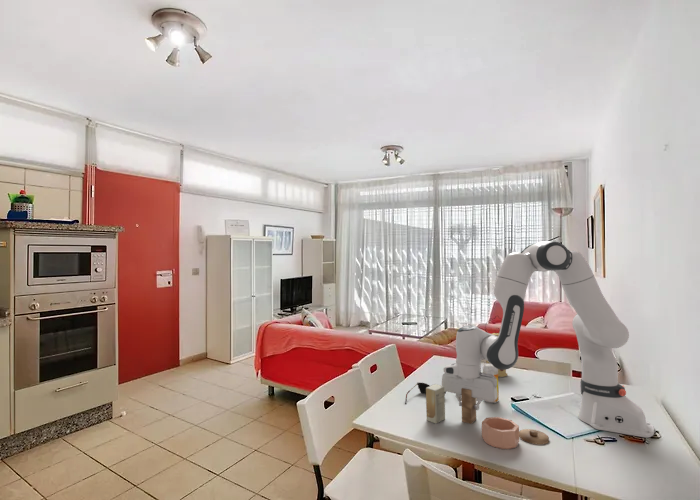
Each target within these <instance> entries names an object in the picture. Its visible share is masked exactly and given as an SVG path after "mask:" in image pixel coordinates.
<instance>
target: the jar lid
mask: <svg viewBox="0 0 700 500" xmlns="http://www.w3.org/2000/svg"><path fill="white" fill-rule="evenodd" d="M549 438H550V437H549V435H548V434H546V433H544V432H543V431H540V430H537V429H532V428H530V429H529V428H525V429H523V428H522V429H521V430H520V429H519V439H520V440H522V441H524V442H526V443H529V444H533V445H546V444H548V443H549V442H550V439H549Z"/></svg>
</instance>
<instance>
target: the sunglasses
mask: <svg viewBox="0 0 700 500" xmlns="http://www.w3.org/2000/svg"><path fill="white" fill-rule="evenodd" d="M416 386H417V389H419V392H420V393H421V394H425V395H426V388H427V387H429V386H431V385H430V384H428V383H425V382H416V384H414V386H413V387H411V389H410V390H408V392H406V394H405V401H404V402H405V405H407V400H408V394H409V393H410V392H411V391H412V390H413V389H414V388H415V387H416ZM444 393H445V395H446V394H447V391H444Z"/></svg>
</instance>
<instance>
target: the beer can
mask: <svg viewBox="0 0 700 500" xmlns="http://www.w3.org/2000/svg"><path fill="white" fill-rule="evenodd" d="M482 373H486V374H492V375H493V376H494V377H496V379H497V393H498V398H497V399H496V400H495V401H494V402H491V401H486V400H484V401H485V403H489V404H497V403H498V401H499V397H500V396H499V377H498V369H497V368H495V367H494V366H493V365H492V364H491V363H490V362H489V363H483V365H482ZM494 377H493V378H494Z"/></svg>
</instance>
